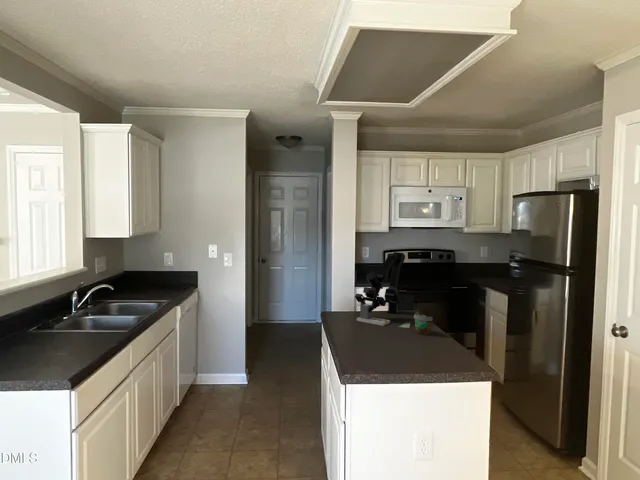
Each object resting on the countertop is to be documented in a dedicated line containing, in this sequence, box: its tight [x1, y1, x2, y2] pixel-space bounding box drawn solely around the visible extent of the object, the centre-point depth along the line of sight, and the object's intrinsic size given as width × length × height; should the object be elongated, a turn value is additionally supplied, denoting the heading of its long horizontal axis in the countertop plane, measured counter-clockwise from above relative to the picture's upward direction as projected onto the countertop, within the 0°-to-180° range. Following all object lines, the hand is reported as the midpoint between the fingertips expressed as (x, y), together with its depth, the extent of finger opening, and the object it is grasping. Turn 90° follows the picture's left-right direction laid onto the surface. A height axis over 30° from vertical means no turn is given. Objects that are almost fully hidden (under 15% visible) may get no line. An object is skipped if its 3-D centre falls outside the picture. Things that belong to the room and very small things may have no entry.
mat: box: [395, 322, 411, 329], centre depth 253 cm, size 9×9×1 cm
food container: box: [413, 311, 433, 336], centre depth 237 cm, size 12×6×10 cm, turn 25°
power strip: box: [356, 316, 391, 326], centre depth 257 cm, size 18×8×3 cm, turn 53°
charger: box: [359, 303, 373, 319], centre depth 259 cm, size 5×5×9 cm
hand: (364, 311), depth 258 cm, fingers open, 5 cm apart
